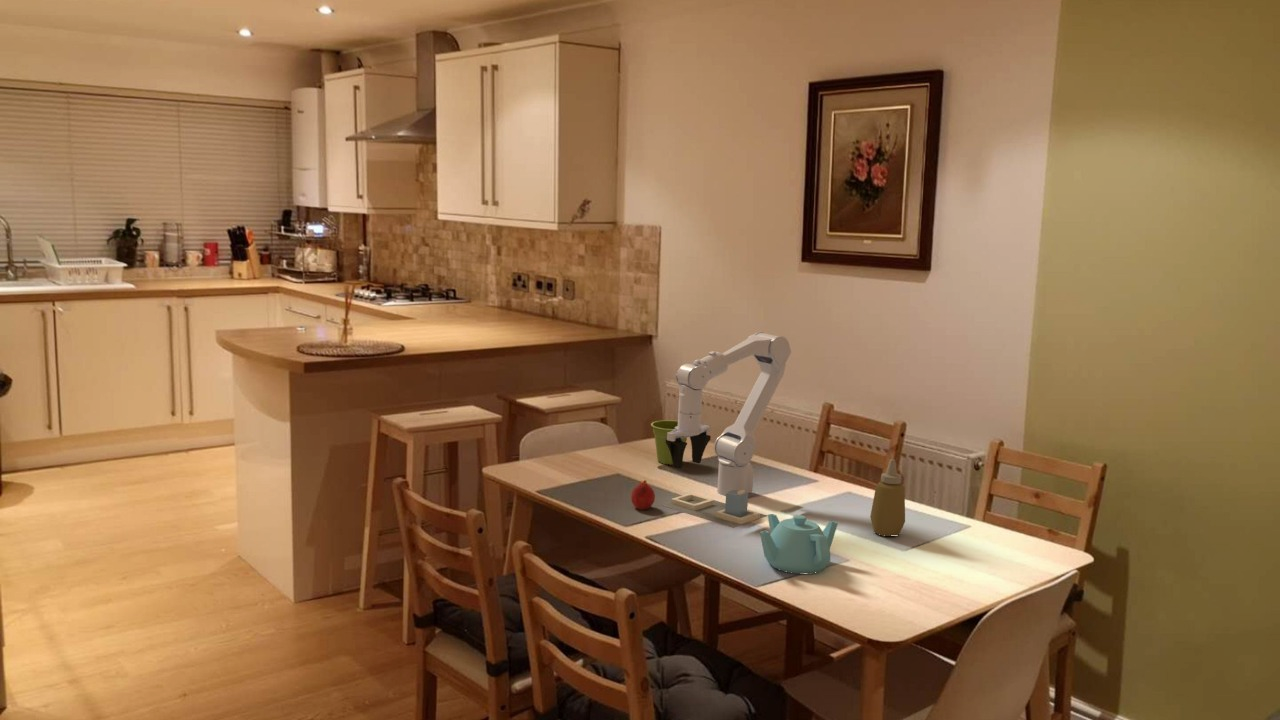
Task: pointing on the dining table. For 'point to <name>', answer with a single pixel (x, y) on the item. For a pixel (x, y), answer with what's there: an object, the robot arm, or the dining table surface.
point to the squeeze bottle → (889, 503)
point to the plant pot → (664, 439)
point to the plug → (736, 503)
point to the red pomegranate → (643, 496)
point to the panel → (710, 510)
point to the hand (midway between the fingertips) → (686, 464)
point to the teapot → (797, 544)
